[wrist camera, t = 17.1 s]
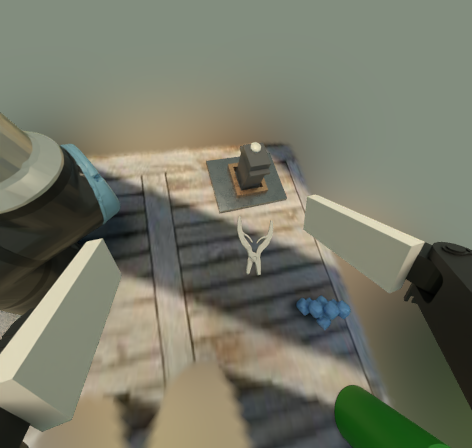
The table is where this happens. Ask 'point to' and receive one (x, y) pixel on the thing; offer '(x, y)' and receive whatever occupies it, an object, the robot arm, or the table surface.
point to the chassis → (230, 189)
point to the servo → (252, 165)
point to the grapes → (323, 310)
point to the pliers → (252, 256)
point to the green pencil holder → (377, 423)
